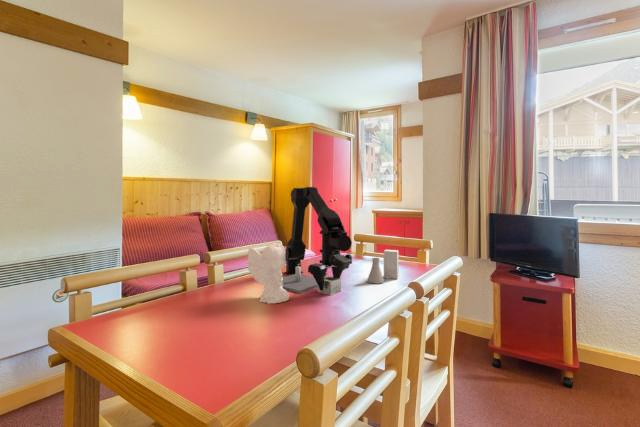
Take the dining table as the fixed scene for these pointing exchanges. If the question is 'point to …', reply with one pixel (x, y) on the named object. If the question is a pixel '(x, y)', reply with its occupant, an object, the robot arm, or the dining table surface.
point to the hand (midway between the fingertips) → (329, 287)
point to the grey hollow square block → (330, 285)
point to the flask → (375, 272)
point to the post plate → (299, 282)
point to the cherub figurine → (269, 272)
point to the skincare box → (391, 264)
